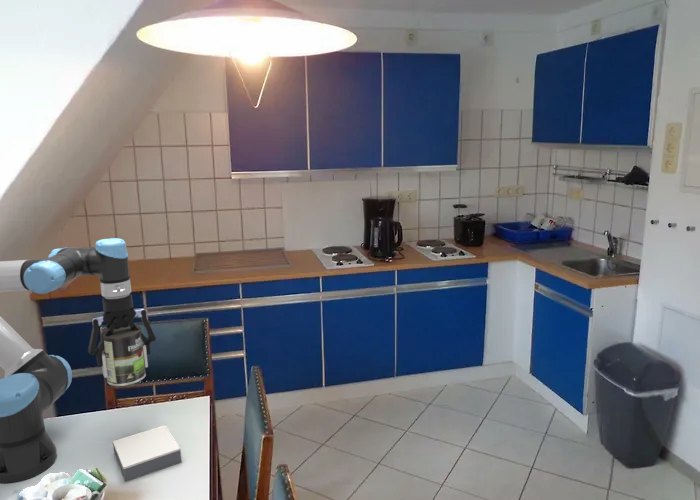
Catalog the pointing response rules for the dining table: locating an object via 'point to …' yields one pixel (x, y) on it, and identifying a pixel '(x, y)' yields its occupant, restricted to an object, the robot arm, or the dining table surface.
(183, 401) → the dining table surface
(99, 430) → the dining table surface
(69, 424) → the dining table surface
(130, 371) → the coffee can
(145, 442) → the plinth
